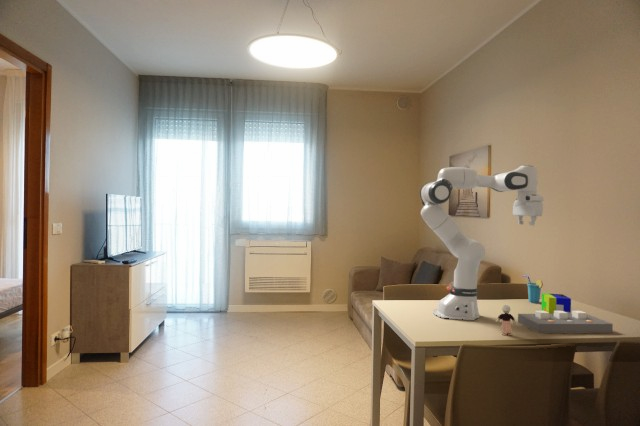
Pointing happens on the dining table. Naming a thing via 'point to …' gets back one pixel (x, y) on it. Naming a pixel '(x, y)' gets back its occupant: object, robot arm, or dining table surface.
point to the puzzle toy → (556, 303)
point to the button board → (565, 324)
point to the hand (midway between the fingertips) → (526, 224)
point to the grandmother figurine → (506, 320)
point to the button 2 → (579, 314)
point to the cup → (534, 290)
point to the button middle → (561, 314)
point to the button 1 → (542, 314)
